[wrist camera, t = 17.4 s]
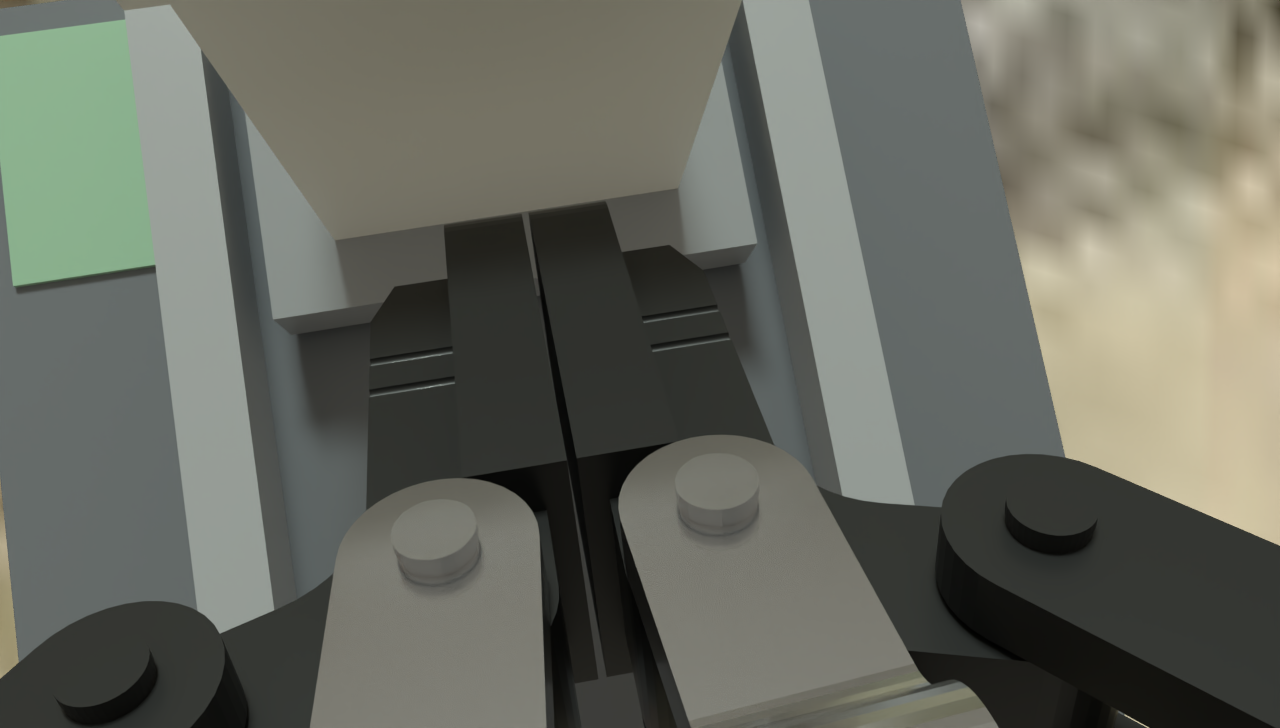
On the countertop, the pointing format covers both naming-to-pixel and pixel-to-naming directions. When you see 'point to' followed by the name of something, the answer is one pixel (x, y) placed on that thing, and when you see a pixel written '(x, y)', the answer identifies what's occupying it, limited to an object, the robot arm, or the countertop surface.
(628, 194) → the lever
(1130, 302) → the countertop surface
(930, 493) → the breaker panel
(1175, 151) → the countertop surface
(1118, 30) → the countertop surface
